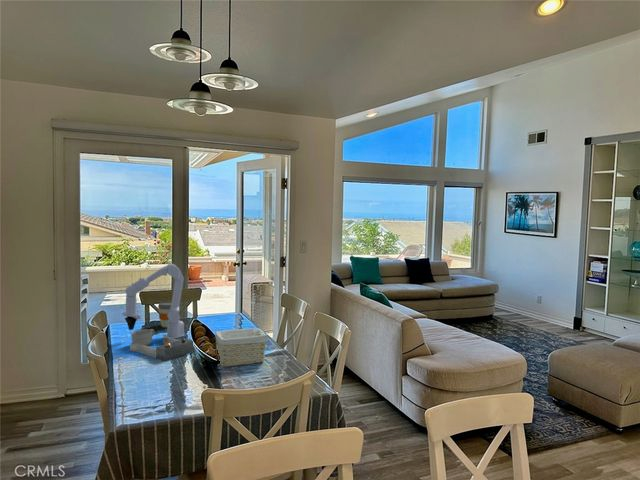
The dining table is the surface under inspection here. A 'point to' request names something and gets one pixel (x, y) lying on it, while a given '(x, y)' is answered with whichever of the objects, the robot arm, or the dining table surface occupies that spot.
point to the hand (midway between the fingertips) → (131, 329)
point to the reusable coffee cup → (164, 312)
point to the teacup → (143, 336)
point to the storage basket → (240, 346)
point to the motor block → (165, 348)
